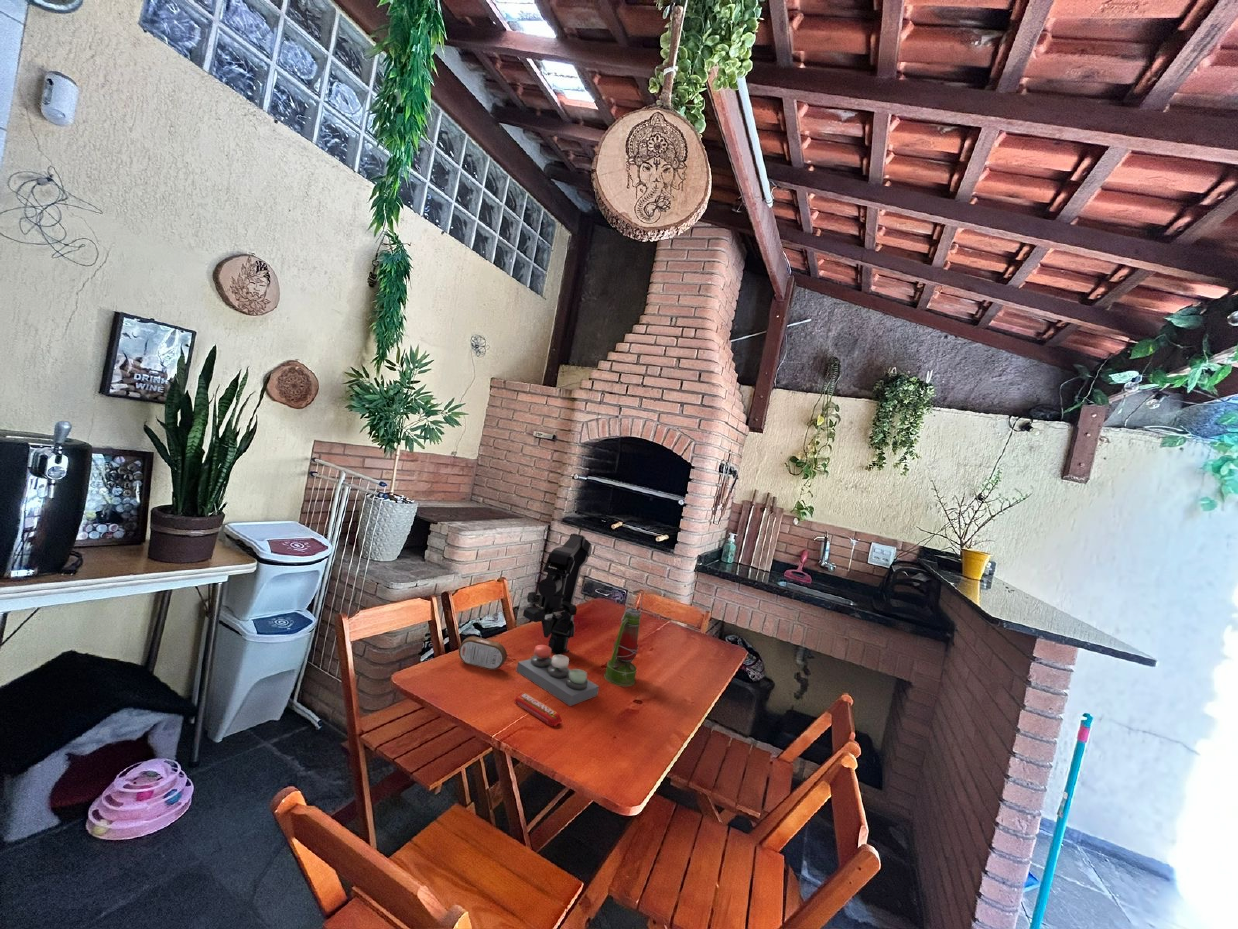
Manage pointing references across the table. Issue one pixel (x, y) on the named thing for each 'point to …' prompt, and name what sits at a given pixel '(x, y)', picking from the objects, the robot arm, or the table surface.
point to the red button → (542, 651)
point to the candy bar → (538, 709)
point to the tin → (482, 653)
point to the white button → (560, 661)
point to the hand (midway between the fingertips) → (545, 637)
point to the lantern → (625, 649)
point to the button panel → (556, 680)
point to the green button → (578, 676)
